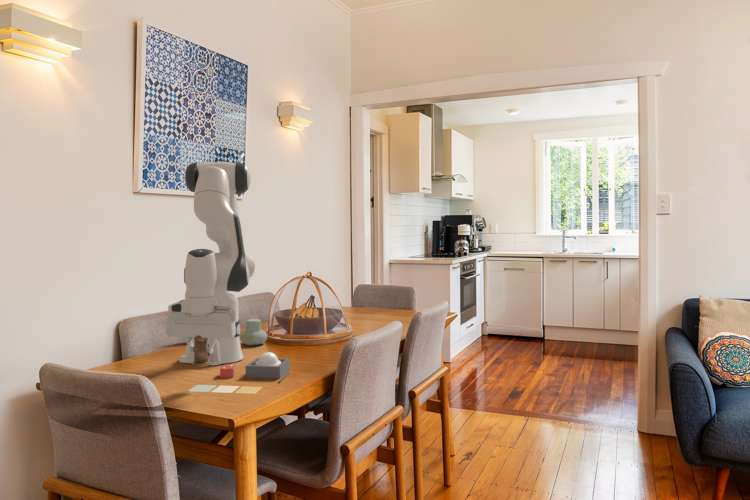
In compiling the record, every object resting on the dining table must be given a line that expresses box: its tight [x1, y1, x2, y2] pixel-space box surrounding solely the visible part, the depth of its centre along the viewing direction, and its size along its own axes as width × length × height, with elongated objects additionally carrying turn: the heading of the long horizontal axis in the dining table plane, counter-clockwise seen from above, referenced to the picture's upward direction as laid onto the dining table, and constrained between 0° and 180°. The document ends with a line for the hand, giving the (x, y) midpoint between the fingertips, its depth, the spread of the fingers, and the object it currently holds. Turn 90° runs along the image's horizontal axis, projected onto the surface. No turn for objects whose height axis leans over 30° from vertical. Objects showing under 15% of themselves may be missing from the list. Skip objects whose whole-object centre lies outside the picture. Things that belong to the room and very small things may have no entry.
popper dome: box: [255, 351, 281, 366], centre depth 181 cm, size 8×8×6 cm
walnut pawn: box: [192, 335, 210, 368], centre depth 164 cm, size 5×5×10 cm
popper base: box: [245, 357, 291, 384], centre depth 181 cm, size 11×11×5 cm
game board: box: [187, 384, 263, 395], centre depth 164 cm, size 21×9×1 cm, turn 83°
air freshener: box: [239, 318, 268, 347], centre depth 232 cm, size 11×8×10 cm
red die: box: [219, 364, 236, 379], centre depth 178 cm, size 4×4×4 cm
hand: (201, 352), depth 165 cm, fingers closed on walnut pawn, 4 cm apart
